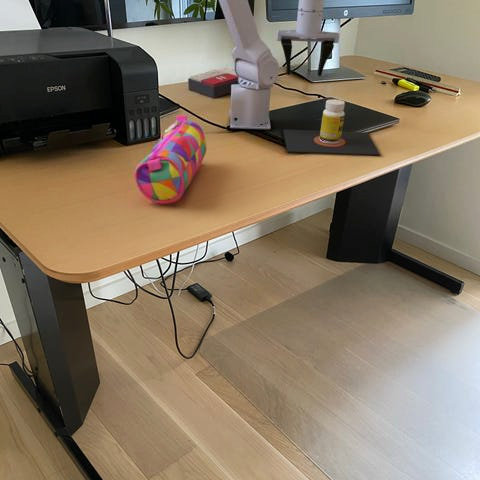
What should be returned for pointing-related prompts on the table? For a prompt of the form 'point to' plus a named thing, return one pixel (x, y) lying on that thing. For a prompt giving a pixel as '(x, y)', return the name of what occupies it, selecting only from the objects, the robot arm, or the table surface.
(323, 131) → the supplement bottle
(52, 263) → the table surface
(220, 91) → the red and black box
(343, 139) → the desk mat
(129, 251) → the table surface
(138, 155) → the table surface
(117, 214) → the table surface
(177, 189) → the pencil case
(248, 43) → the robot arm
